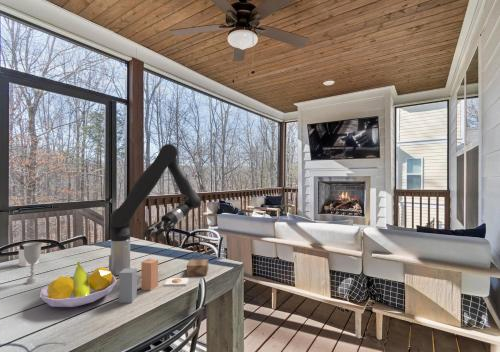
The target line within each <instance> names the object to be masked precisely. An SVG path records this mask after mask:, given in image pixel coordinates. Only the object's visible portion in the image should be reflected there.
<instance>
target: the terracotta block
mask: <svg viewBox="0 0 500 352" xmlns="http://www.w3.org/2000/svg"><path fill="white" fill-rule="evenodd" d="M140 265H141V276H140V277H141V279H140V280H141V282H140V283H141V284H140V285H141V287H140V288H141V289H140V290H144V291H150V292H151V291H153V290H154V289H156V288H158V286H159V259H154V258H153V259H152V258H148V259H146V260H143V261H142V262H141V264H140Z"/></svg>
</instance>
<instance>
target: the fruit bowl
mask: <svg viewBox="0 0 500 352" xmlns="http://www.w3.org/2000/svg"><path fill="white" fill-rule="evenodd" d="M117 282H118V281H117V279H116V277H115V275H112V273H111V272H110V271H109V269H107V268H106V267H105V266H102V267H96V268H95V269H94V270H93V271H92V272H91V273H86V270H84V268H83V266H82V265H81V262H80V261H78V262H77V265H76V268H75V270H74V273H73V275H72V276H69V277H68V276H58V277H57V278H55V279H54V280H53V281H51V282H50V283H48V285H46V286H44V287H42V288H41V289H40V294H39V297H40V298H41V300H43V302H44V303H46V304H47V305H49V306H50V307H51V308H52V307H53V308H58V307H59V308H77V307H80V306H83V305H86V304H90V303H94V302H95V301H98V300H99V299H101V298H102V297H105V296H107V295H108V294H111V291H112V290H113V288H114V286H115V285H116V283H117Z"/></svg>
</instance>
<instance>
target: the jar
mask: <svg viewBox="0 0 500 352" xmlns="http://www.w3.org/2000/svg"><path fill="white" fill-rule="evenodd" d="M34 242H36V241H35V240H33V241H26V242H25V241H24V242H21V243H19V249H18V267H23V268H27V267H31V264H29V263H28V262H27V261H26V259H25V257H24V247H23V245H24V244H27V243H34ZM39 262H40V259H38V260H37V262H36V263H34V266H36V265H38V263H39Z"/></svg>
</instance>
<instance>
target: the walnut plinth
mask: <svg viewBox="0 0 500 352" xmlns="http://www.w3.org/2000/svg"><path fill="white" fill-rule="evenodd" d="M208 272H209V259H207V258H206V259H199V258H198V259H189V260H188V262H187V264H186V277H187V276H207V275H208Z"/></svg>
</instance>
